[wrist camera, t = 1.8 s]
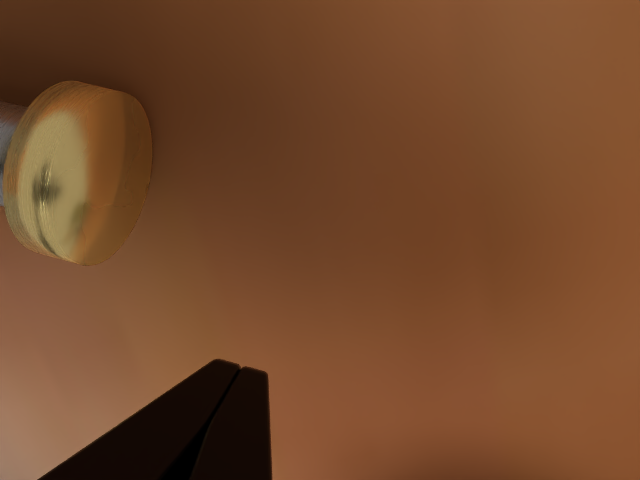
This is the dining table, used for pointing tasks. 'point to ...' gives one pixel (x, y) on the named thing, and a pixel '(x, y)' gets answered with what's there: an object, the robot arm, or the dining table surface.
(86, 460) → the robot arm
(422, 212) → the dining table surface
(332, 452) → the dining table surface
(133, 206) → the lynch pin
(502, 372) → the dining table surface
